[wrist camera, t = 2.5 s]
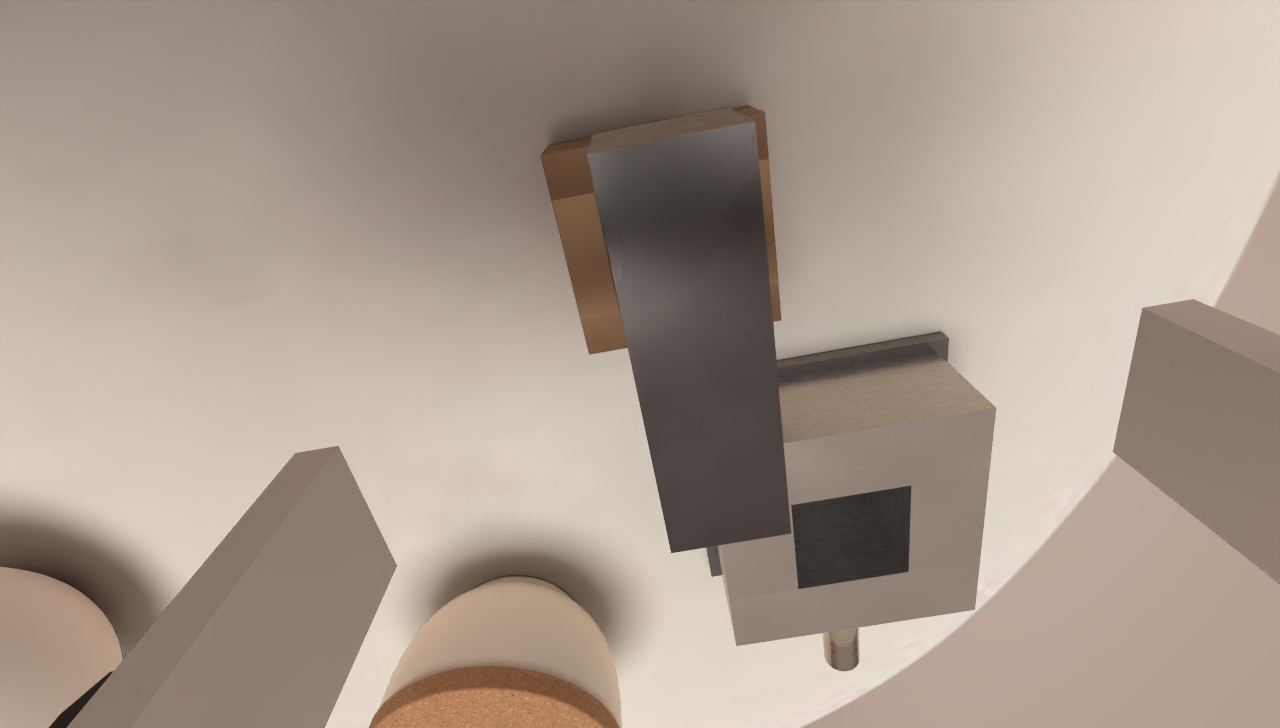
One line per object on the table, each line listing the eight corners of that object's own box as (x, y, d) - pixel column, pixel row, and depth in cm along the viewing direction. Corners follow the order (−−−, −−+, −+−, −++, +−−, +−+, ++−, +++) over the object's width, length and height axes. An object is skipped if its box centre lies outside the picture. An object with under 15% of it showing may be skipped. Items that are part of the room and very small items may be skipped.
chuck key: (601, 102, 20) (587, 153, 10) (683, 86, 20) (755, 121, 10) (647, 339, 25) (671, 552, 14) (716, 327, 24) (791, 533, 14)
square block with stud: (677, 378, 25) (690, 447, 21) (941, 332, 25) (1012, 392, 20) (719, 621, 32) (735, 712, 28) (927, 589, 32) (978, 676, 27)
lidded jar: (626, 541, 30) (631, 733, 21) (619, 684, 34) (620, 886, 26) (402, 539, 29) (315, 735, 21) (427, 684, 34) (365, 891, 25)
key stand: (548, 145, 21) (540, 155, 19) (748, 105, 21) (764, 111, 18) (591, 326, 24) (589, 354, 22) (766, 295, 24) (781, 320, 22)
